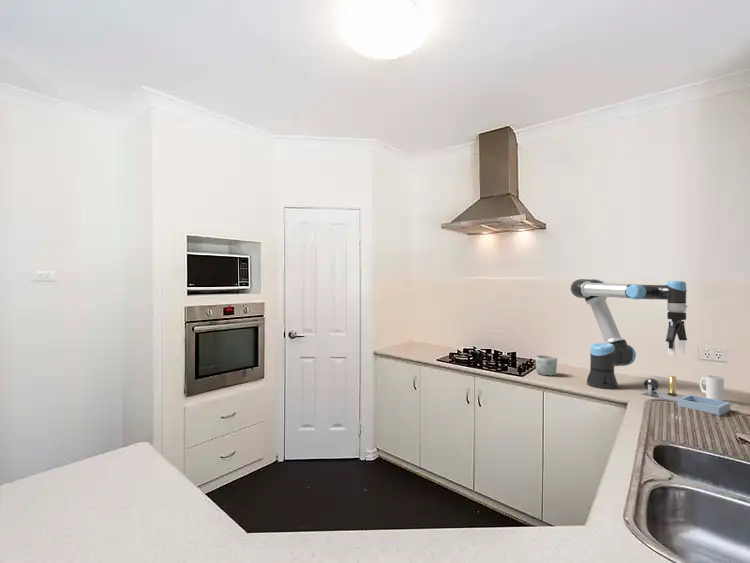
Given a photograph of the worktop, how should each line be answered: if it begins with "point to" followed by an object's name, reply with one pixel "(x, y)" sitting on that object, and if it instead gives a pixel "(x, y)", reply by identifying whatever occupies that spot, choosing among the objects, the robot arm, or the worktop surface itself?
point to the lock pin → (672, 385)
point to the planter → (546, 365)
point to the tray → (704, 404)
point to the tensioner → (654, 385)
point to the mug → (713, 387)
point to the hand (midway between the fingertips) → (676, 354)
